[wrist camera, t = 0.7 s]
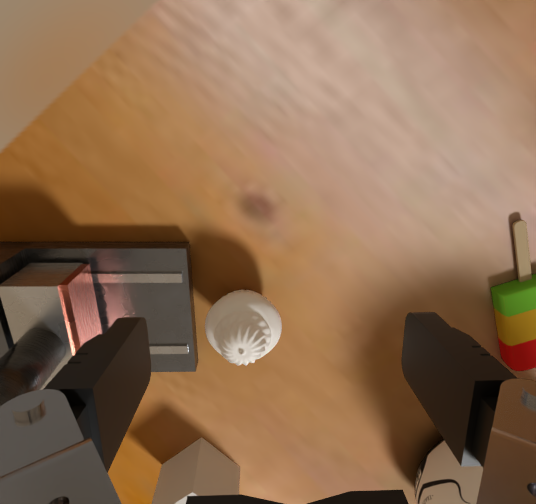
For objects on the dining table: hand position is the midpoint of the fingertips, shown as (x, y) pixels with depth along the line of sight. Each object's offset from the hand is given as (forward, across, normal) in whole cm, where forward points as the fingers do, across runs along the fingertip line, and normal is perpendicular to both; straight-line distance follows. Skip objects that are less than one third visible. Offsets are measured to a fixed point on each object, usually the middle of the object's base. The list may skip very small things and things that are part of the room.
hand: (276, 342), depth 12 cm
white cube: (+23, +7, +28) cm, 37 cm away
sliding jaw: (+18, +16, +8) cm, 26 cm away
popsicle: (+21, -23, +7) cm, 32 cm away
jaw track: (+20, +14, +8) cm, 26 cm away
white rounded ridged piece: (+21, +2, +8) cm, 22 cm away
